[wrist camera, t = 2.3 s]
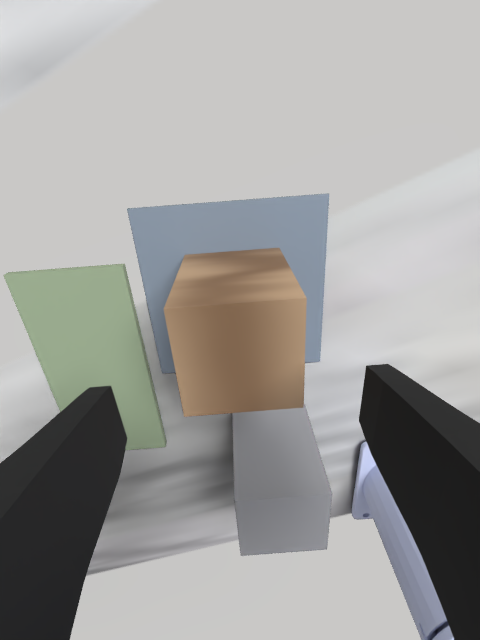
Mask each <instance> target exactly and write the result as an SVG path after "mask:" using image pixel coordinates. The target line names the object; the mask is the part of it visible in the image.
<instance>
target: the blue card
mask: <svg viewBox="0 0 480 640" xmlns="http://www.w3.org/2000/svg"><path fill="white" fill-rule="evenodd" d="M328 206H329V194H316V195H303V196H289V197H277V198H262V199H249V200H235V201H222V202H208V203H195V204H182V205H168V206H155V207H142V208H128V209H127V211H128V215H129V220H130V225H131V230H132V234H133V239H134V243H135V248H136V253H137V257H138V262H139V267H140V272H141V276H142V281H143V286H144V290H145V295H146V299H147V304H148V309H149V313H150V318H151V323H152V327H153V332H154V337H155V341H156V346H157V351H158V355H159V360H160V365H161V369H162V373H174V372H176V371H175V366H174V361H173V356H172V350H171V345H170V340H169V335H168V329H167V324H166V319H165V314H164V307H165V304H166V301H167V299H168V296H169V294H170V291H171V289H172V286H173V284H174V281H175V279H176V276H177V273H178V271H179V268H180V266H181V263H182V261H183V258H184V256H185V255H188V254H201V253H215V252H228V251H241V250H254V249H268V248H280V250H281V252H282V253H283V255H284V257H285V259H286V261H287V263H288V265H289V266H290V268H291V270H292V272H293V274H294V276H295V277H296V279H297V281H298V283H299V285H300V287H301V289H302V290H303V292H304V294H305V296H306V298H307V305H306V339H305V363H306V362H319V361H320V351H321V333H322V315H323V297H324V279H325V261H326V242H327V224H328Z"/></svg>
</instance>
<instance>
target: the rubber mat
mask: <svg viewBox="0 0 480 640" xmlns="http://www.w3.org/2000/svg"><path fill="white" fill-rule="evenodd" d="M4 278H5V280H6V283H7V285H8V287H9V290H10V292H11V295H12V297H13V299H14V302H15V304H16V307H17V309H18V311H19V313H20V316H21V318H22V321H23V323H24V326H25V328H26V330H27V333H28V335H29V338H30V340H31V342H32V345H33V347H34V350H35V352H36V355H37V357H38V359H39V362H40V364H41V367H42V369H43V371H44V374H45V376H46V379H47V381H48V383H49V386H50V388H51V391H52V393H53V395H54V398H55V400H56V402H57V405H58V407H59V410H60V412H61V411H62V410H63V409H65V408H66V407H67V406H68V405H69V404H70V403H71V402H72V401H74V400H75V399H76V398H77V397H78V396H79V395H81V394H82V393H83V392H84V391H85V390H87V389H88V388H89V387H100V386H111V387H112V390H113V393H114V397H115V400H116V403H117V406H118V410H119V413H120V416H121V419H122V422H123V426H124V429H125V432H126V435H127V443H126V448H125V450H134V449H147V448H160V447H166V443H167V442H166V437H165V433H164V429H163V425H162V420H161V416H160V412H159V408H158V403H157V399H156V395H155V391H154V386H153V382H152V378H151V374H150V369H149V365H148V361H147V357H146V352H145V348H144V344H143V339H142V335H141V331H140V327H139V322H138V318H137V314H136V310H135V305H134V301H133V297H132V293H131V289H130V284H129V280H128V276H127V272H126V267H125V264H115V265H101V266H88V267H75V268H62V269H48V270H37V271H35V270H34V271H21V272H9V273H7V274H5V275H4Z"/></svg>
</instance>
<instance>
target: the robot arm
mask: <svg viewBox="0 0 480 640" xmlns="http://www.w3.org/2000/svg"><path fill="white" fill-rule="evenodd" d="M359 422H360V424H361V427H362V430H363V433H364V436H365V439H366V441H365V442H364V443H363V444H362V445H361V448H360V455H359V462H358V469H357V476H356V483H355V490H354V497H353V504H352V511H351V513H352V516H353V517H354V519H370V518H373V519H374V522H375V524H376V527H377V529H378V532H379V534H380V537H381V539H382V542H383V544H384V547H385V549H386V552H387V554H388V557H389V559H390V562H391V564H392V567H393V569H394V572H395V574H396V577H397V579H398V582H399V584H400V587H401V590H402V592H403V594H404V597H405V599H406V602H407V605H408V607H409V610H410V612H411V615H412V617H413V620H414V622H415V625H416V627H417V630H418V632H419V634H420V637H421V640H480V423H478V422H477V421H475V420H473V419H472V418H470V417H469V416H467V415H465V414H464V413H462V412H461V411H459V410H457V409H456V408H454V407H453V406H451V405H450V404H448V403H447V402H445V401H444V400H442V399H441V398H439V397H438V396H436V395H434V394H433V393H431V392H430V391H428V390H427V389H425V388H424V387H423V386H421V385H420V384H418V383H417V382H415V381H414V380H412V379H411V378H409V377H408V376H406V375H405V374H403V373H402V372H400V371H398V370H397V369H395V368H394V367H392V366H390V365H389V364H383V365H370V366H366V372H365V380H364V387H363V394H362V402H361V409H360V416H359ZM126 443H127V435H126V432H125V429H124V426H123V422H122V419H121V416H120V413H119V410H118V406H117V403H116V400H115V397H114V393H113V390H112V387H111V386H100V387H89V388H88V389H87V390H85V391H84V392H83V393H82V394H81V395H79V396H78V397H77V398H76V399H75V400H74V401H72V402H71V403H70V404H69V405H68V406H67V407H66V408H65V409H63V410H62V411H61V412H60V413H59V414H58V415H57V416H56V417H54V418H53V419H52V420H51V421H50V422H49V423H48V424H46V425H45V426H44V427H43V428H42V429H41V430H40V431H38V432H37V433H36V434H35V435H34V436H33V437H32V438H30V439H29V440H28V441H27V442H26V443H25V444H23V445H22V446H21V447H20V448H19V449H17V450H16V451H15V452H14V453H12V454H11V455H10V456H9V457H8V458H6V459H5V460H4V461H3V462H1V463H0V640H70V635H71V631H72V627H73V623H74V619H75V615H76V611H77V607H78V603H79V599H80V595H81V591H82V587H83V583H84V580H85V577H86V573H87V570H88V567H89V564H90V560H91V558H92V555H93V552H94V549H95V546H96V543H97V540H98V537H99V534H100V531H101V529H102V526H103V523H104V520H105V517H106V514H107V511H108V508H109V505H110V502H111V499H112V496H113V494H114V491H115V488H116V485H117V482H118V479H119V475H120V472H121V467H122V463H123V458H124V453H125V448H126Z"/></svg>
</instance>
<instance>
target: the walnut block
mask: <svg viewBox="0 0 480 640" xmlns="http://www.w3.org/2000/svg"><path fill="white" fill-rule="evenodd" d="M306 305H307V298H306V296H305V294H304V292H303V290H302V289H301V287H300V285H299V283H298V281H297V279H296V277H295V276H294V274H293V272H292V270H291V268H290V266H289V265H288V263H287V261H286V259H285V257H284V255H283V253H282V252H281V250H280V248H268V249H254V250H241V251H228V252H215V253H201V254H188V255H185V256H184V258H183V261H182V263H181V266H180V268H179V271H178V273H177V276H176V279H175V281H174V284H173V286H172V289H171V291H170V294H169V296H168V299H167V301H166V304H165V307H164V314H165V319H166V324H167V329H168V335H169V340H170V345H171V350H172V356H173V361H174V366H175V371H176V377H177V382H178V387H179V392H180V397H181V403H182V408H183V413H184V417H187V416H200V415H213V414H226V413H240V412H253V411H266V410H279V409H292V408H303V406H304V372H305V339H306Z"/></svg>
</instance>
